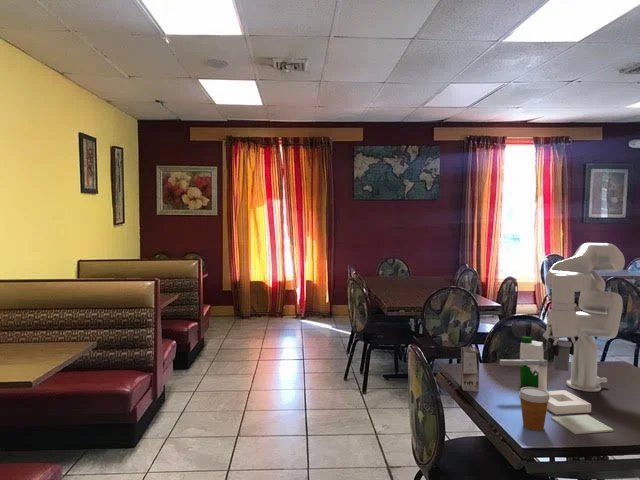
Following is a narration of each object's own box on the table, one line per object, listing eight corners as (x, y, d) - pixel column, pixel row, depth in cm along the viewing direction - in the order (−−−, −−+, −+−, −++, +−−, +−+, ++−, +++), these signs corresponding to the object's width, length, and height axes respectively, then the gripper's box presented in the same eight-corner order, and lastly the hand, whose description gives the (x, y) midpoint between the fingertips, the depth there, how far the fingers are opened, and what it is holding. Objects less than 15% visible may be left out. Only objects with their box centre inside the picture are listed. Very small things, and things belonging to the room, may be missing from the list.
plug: (562, 366, 175) (564, 339, 175) (573, 371, 169) (575, 343, 169) (548, 366, 174) (550, 338, 174) (559, 370, 169) (561, 342, 168)
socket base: (554, 391, 187) (554, 362, 187) (591, 412, 167) (591, 379, 166) (522, 393, 185) (523, 364, 185) (555, 414, 165) (556, 381, 164)
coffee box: (479, 392, 187) (479, 352, 186) (462, 390, 188) (463, 351, 187) (476, 384, 196) (476, 346, 195) (460, 383, 197) (461, 346, 196)
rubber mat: (587, 416, 163) (587, 414, 163) (613, 431, 151) (613, 429, 151) (551, 418, 161) (551, 416, 161) (574, 434, 149) (575, 432, 149)
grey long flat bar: (545, 363, 185) (545, 359, 185) (548, 365, 182) (549, 361, 181) (499, 363, 185) (499, 359, 185) (502, 365, 181) (502, 361, 181)
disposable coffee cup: (512, 421, 159) (513, 386, 159) (539, 420, 160) (539, 386, 160) (527, 433, 150) (528, 397, 149) (555, 432, 150) (556, 396, 150)
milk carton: (521, 379, 202) (522, 334, 201) (544, 383, 197) (544, 337, 196) (518, 385, 195) (518, 338, 194) (541, 389, 190) (542, 341, 189)
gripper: (576, 304, 176) (575, 350, 177) (535, 305, 174) (534, 352, 175) (590, 307, 169) (590, 356, 170) (548, 309, 166) (547, 358, 167)
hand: (562, 353), depth 172 cm, fingers closed on plug, 5 cm apart
